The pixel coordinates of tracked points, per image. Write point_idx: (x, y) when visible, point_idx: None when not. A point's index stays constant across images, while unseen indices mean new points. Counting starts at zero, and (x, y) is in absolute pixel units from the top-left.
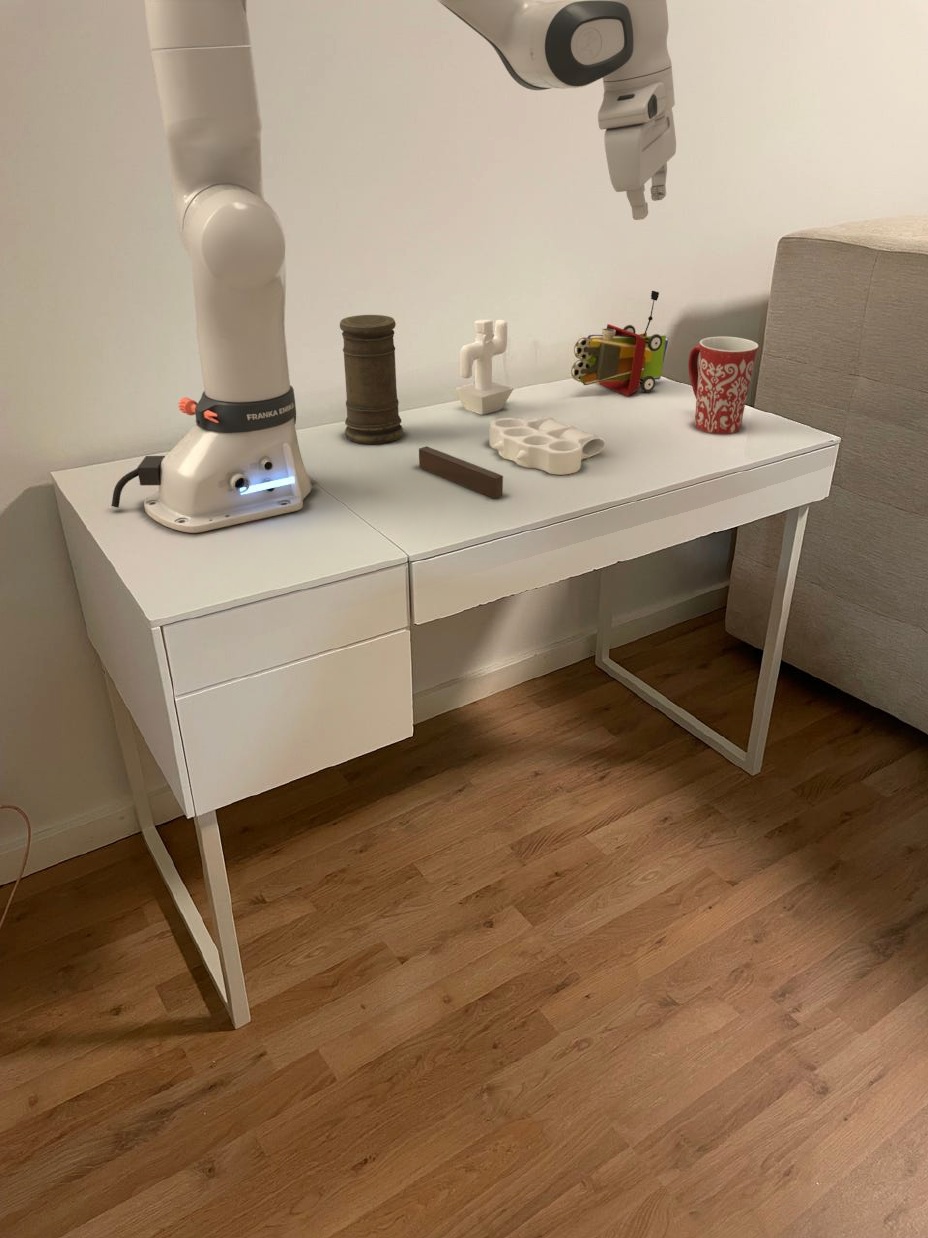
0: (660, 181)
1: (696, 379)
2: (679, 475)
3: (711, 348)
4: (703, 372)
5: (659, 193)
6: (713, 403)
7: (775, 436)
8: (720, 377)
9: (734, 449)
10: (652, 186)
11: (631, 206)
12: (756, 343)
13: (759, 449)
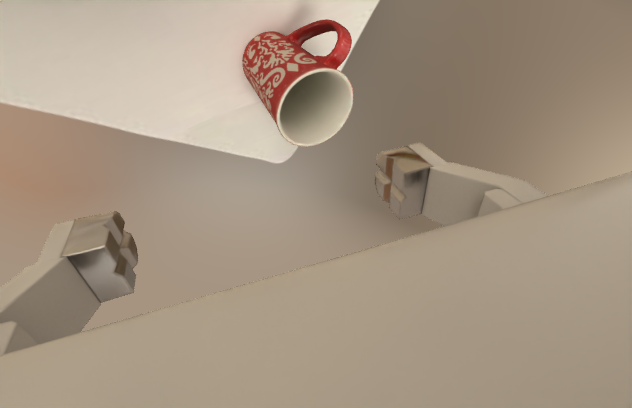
0: (438, 206)
1: (317, 30)
2: (60, 99)
3: (280, 103)
4: (273, 74)
5: (390, 189)
6: (253, 80)
7: (269, 125)
8: (265, 101)
9: (204, 110)
10: (428, 169)
11: (28, 267)
12: (331, 136)
13: (221, 130)
